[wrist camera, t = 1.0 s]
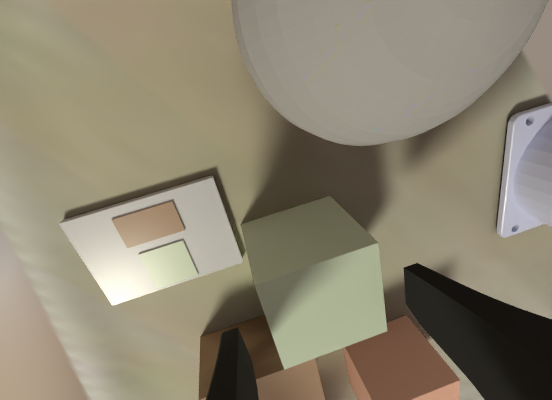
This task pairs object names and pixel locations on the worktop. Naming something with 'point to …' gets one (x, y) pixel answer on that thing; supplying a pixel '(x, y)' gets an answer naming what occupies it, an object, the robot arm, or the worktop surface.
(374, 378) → the terracotta block
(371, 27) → the light bulb
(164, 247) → the card
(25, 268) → the worktop surface
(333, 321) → the sage block
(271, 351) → the walnut block
